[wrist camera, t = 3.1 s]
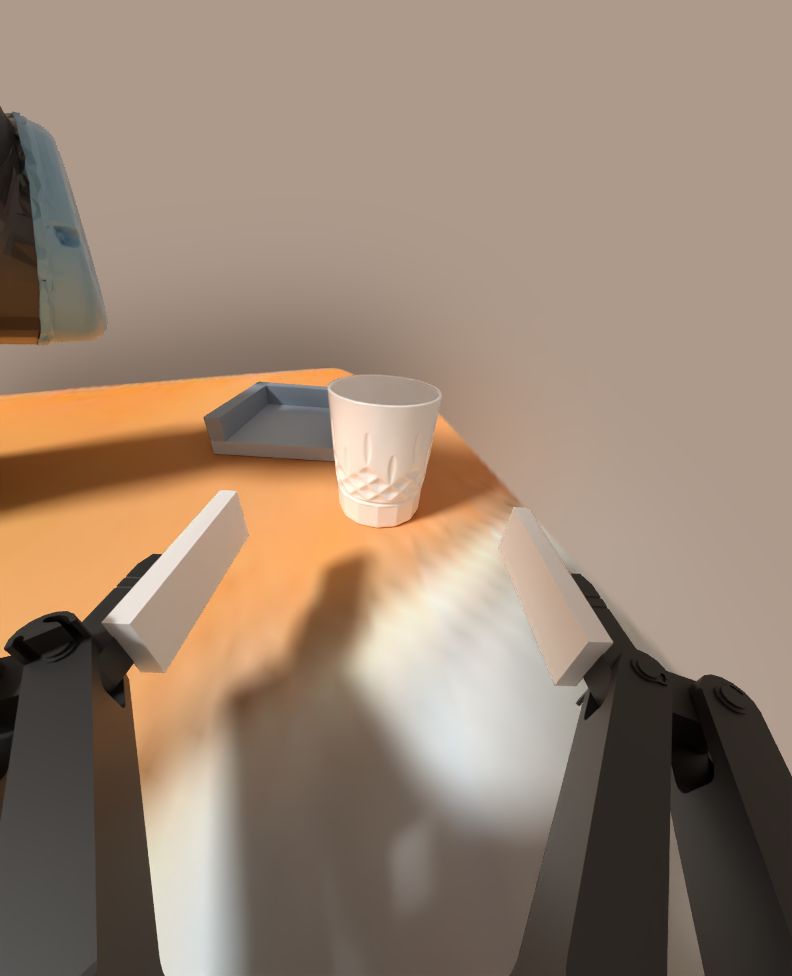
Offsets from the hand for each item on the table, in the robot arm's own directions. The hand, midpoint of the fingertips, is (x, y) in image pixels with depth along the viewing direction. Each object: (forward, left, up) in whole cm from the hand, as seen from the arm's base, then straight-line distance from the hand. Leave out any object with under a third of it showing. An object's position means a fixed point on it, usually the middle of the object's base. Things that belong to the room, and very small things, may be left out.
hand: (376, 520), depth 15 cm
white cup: (-2, +10, -6) cm, 12 cm away
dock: (-15, +22, -6) cm, 27 cm away
